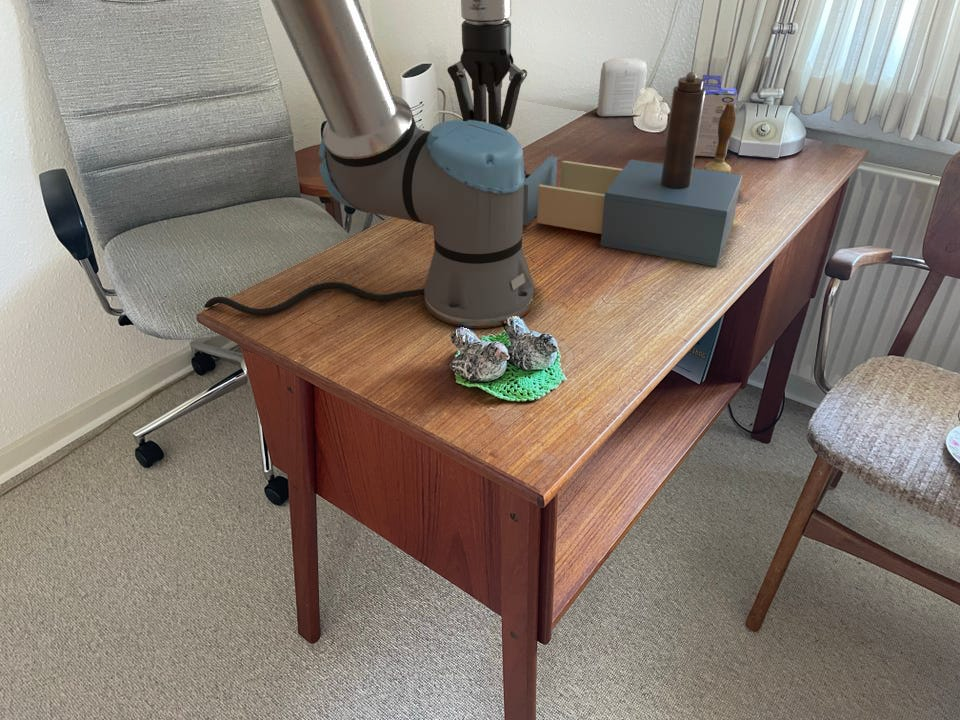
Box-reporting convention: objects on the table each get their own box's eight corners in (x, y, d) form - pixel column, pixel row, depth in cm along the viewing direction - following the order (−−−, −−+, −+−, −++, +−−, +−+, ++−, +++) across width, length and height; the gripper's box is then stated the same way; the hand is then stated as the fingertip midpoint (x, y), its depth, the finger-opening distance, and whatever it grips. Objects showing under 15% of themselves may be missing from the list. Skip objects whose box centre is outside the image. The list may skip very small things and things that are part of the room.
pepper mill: (669, 190, 108) (685, 77, 99) (655, 179, 112) (670, 69, 102) (695, 187, 109) (714, 74, 100) (681, 176, 113) (698, 66, 103)
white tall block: (639, 111, 168) (645, 54, 161) (643, 116, 165) (650, 59, 158) (595, 112, 168) (599, 56, 161) (598, 118, 165) (603, 61, 157)
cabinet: (600, 245, 113) (604, 192, 108) (625, 209, 124) (630, 159, 119) (716, 266, 107) (727, 211, 102) (732, 226, 118) (742, 174, 113)
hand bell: (711, 183, 133) (727, 93, 124) (747, 198, 127) (766, 105, 118) (678, 193, 129) (692, 102, 120) (713, 209, 124) (731, 114, 114)
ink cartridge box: (725, 148, 147) (739, 74, 139) (727, 158, 143) (741, 82, 134) (675, 146, 149) (686, 72, 140) (675, 155, 145) (686, 80, 136)
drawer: (495, 219, 119) (495, 179, 115) (526, 189, 129) (526, 152, 125) (620, 241, 112) (624, 200, 108) (641, 208, 122) (646, 168, 118)
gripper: (436, 21, 109) (443, 173, 122) (517, 28, 104) (515, 184, 118) (458, 12, 114) (462, 158, 128) (535, 17, 110) (532, 168, 123)
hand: (488, 170), depth 123 cm, fingers closed
